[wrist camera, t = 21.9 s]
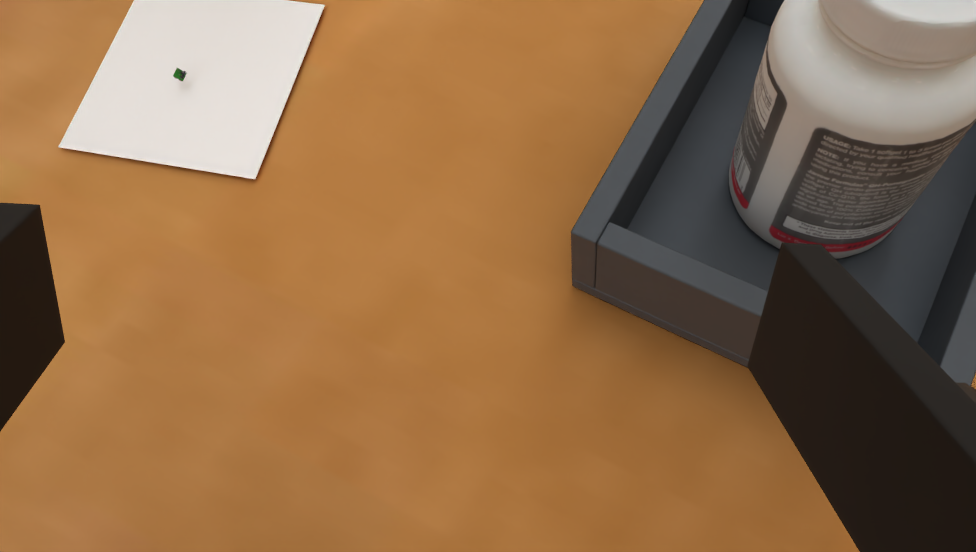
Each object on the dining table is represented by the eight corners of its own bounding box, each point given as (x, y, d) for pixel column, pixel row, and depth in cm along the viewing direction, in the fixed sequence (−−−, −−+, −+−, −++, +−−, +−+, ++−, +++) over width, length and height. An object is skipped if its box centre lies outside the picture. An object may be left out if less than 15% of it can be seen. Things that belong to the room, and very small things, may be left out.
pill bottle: (938, 186, 26) (1130, -57, 17) (827, 298, 24) (969, 101, 16) (798, 89, 28) (903, -174, 19) (690, 189, 26) (746, -41, 18)
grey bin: (571, 286, 26) (570, 232, 23) (728, 6, 30) (747, -77, 27) (906, 442, 23) (963, 406, 20) (1032, 108, 27) (1098, 30, 24)
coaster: (325, 5, 32) (319, -10, 31) (255, 179, 29) (247, 167, 28) (142, -17, 33) (133, -32, 33) (58, 147, 30) (45, 135, 30)
